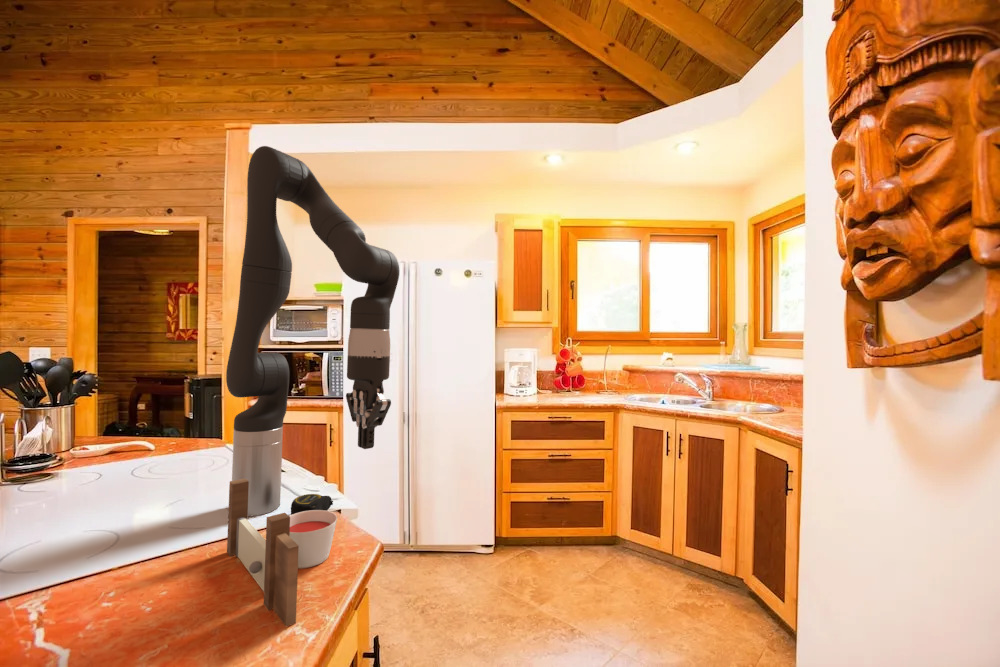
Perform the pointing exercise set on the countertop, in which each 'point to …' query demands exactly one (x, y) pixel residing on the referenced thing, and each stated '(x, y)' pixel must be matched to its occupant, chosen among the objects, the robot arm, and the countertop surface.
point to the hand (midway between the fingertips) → (365, 447)
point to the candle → (312, 535)
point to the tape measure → (310, 503)
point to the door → (251, 550)
